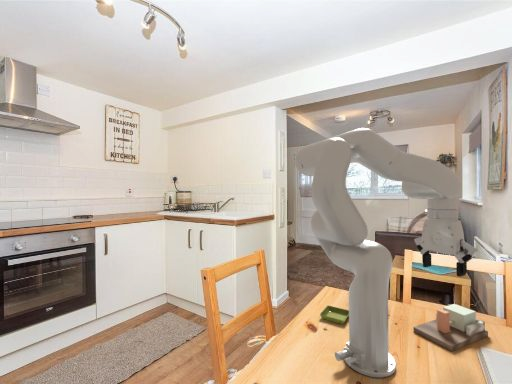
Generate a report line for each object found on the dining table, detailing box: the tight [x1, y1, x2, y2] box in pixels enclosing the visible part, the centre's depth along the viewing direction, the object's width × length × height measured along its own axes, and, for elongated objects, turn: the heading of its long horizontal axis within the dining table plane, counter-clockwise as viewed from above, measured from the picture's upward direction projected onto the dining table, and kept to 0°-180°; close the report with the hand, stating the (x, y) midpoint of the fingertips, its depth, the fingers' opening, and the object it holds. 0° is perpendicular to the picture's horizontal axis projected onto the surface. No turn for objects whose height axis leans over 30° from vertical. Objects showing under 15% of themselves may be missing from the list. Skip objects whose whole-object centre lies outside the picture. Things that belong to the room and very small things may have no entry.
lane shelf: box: [413, 313, 489, 352], centre depth 80 cm, size 18×11×4 cm, turn 113°
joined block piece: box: [436, 303, 477, 333], centre depth 80 cm, size 12×6×6 cm, turn 113°
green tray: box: [319, 305, 349, 325], centre depth 91 cm, size 9×9×2 cm
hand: (443, 270), depth 78 cm, fingers open, 9 cm apart
